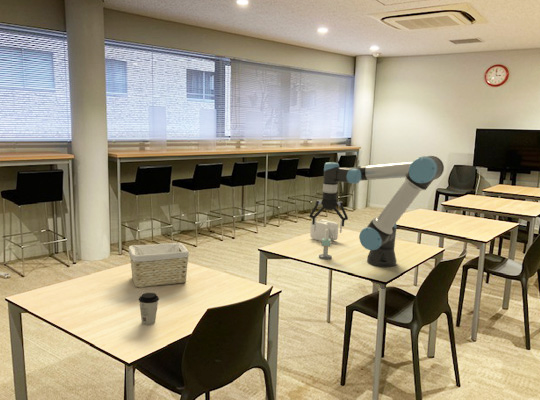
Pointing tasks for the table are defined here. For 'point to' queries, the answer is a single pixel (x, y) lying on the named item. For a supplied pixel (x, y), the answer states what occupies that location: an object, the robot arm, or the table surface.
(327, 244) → the sleeve
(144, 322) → the coffee cup
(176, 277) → the storage basket
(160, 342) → the table surface
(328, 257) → the post
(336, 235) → the cable organizer
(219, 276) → the table surface
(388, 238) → the robot arm
